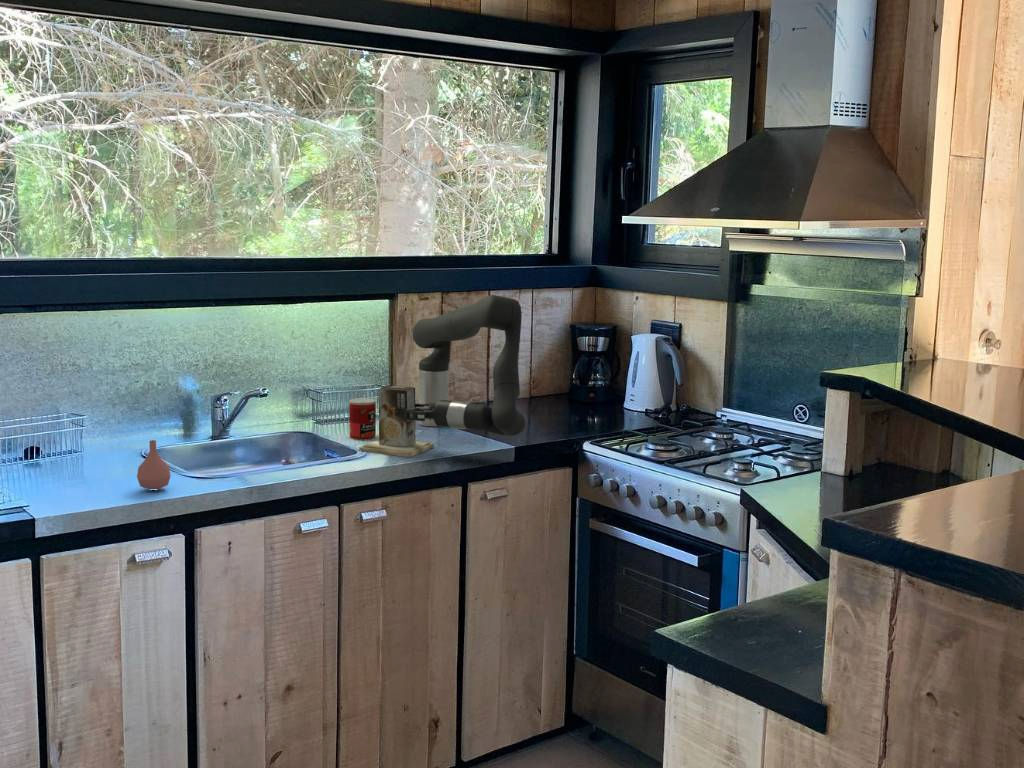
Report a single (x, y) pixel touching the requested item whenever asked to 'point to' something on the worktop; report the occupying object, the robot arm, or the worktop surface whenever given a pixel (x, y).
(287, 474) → the worktop surface
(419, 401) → the robot arm
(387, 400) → the coffee box
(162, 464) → the terracotta vase
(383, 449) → the folded beige cloth
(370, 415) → the canned food
